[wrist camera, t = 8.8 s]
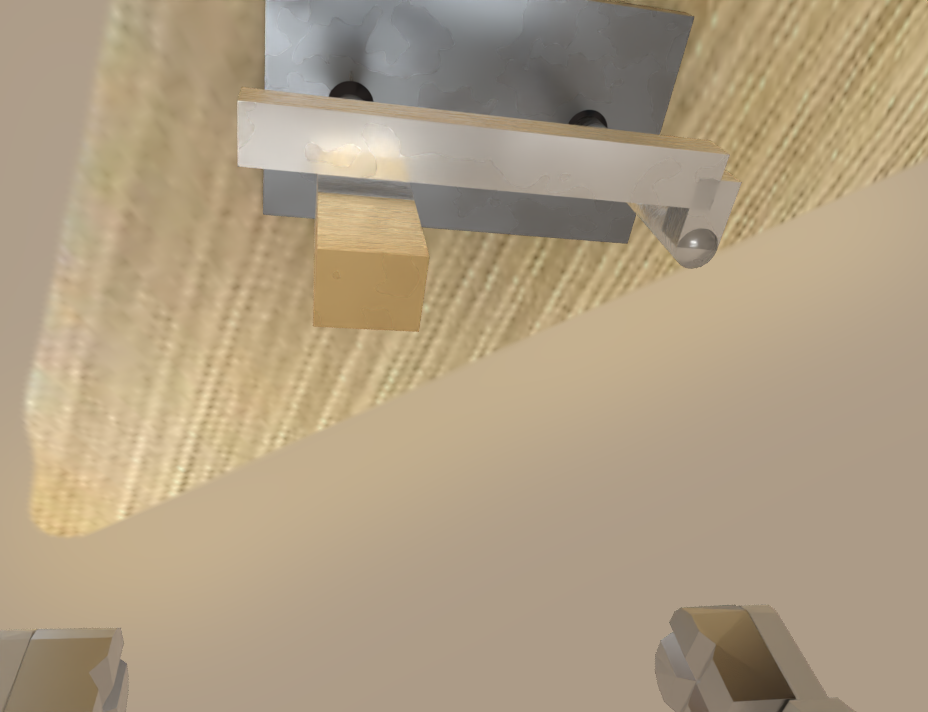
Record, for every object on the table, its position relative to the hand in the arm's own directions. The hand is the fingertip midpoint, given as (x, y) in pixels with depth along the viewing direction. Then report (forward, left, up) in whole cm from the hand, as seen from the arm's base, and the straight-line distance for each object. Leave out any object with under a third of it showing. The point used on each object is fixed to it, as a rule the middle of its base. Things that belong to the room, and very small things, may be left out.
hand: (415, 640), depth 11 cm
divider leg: (0, 0, -30) cm, 30 cm away
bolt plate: (-6, +1, -31) cm, 32 cm away
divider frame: (-5, -1, -30) cm, 30 cm away
